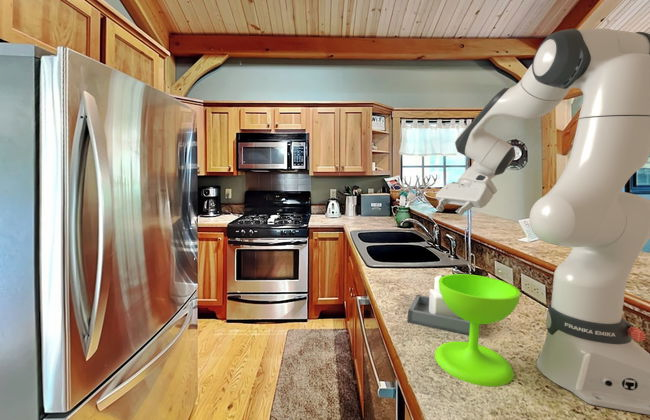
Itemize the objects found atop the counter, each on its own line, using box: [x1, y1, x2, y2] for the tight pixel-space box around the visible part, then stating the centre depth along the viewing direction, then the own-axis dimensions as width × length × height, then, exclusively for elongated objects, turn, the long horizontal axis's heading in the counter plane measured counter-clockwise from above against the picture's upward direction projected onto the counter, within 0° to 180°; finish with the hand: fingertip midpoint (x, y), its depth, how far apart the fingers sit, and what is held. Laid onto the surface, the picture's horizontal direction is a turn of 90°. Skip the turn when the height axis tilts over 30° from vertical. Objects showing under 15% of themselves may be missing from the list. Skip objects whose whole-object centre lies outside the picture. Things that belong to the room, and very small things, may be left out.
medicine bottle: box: [428, 274, 460, 319], centre depth 89 cm, size 7×7×12 cm
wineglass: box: [434, 273, 521, 387], centre depth 68 cm, size 16×16×18 cm
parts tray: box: [407, 294, 470, 336], centre depth 90 cm, size 18×14×4 cm
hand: (448, 211), depth 104 cm, fingers open, 8 cm apart
